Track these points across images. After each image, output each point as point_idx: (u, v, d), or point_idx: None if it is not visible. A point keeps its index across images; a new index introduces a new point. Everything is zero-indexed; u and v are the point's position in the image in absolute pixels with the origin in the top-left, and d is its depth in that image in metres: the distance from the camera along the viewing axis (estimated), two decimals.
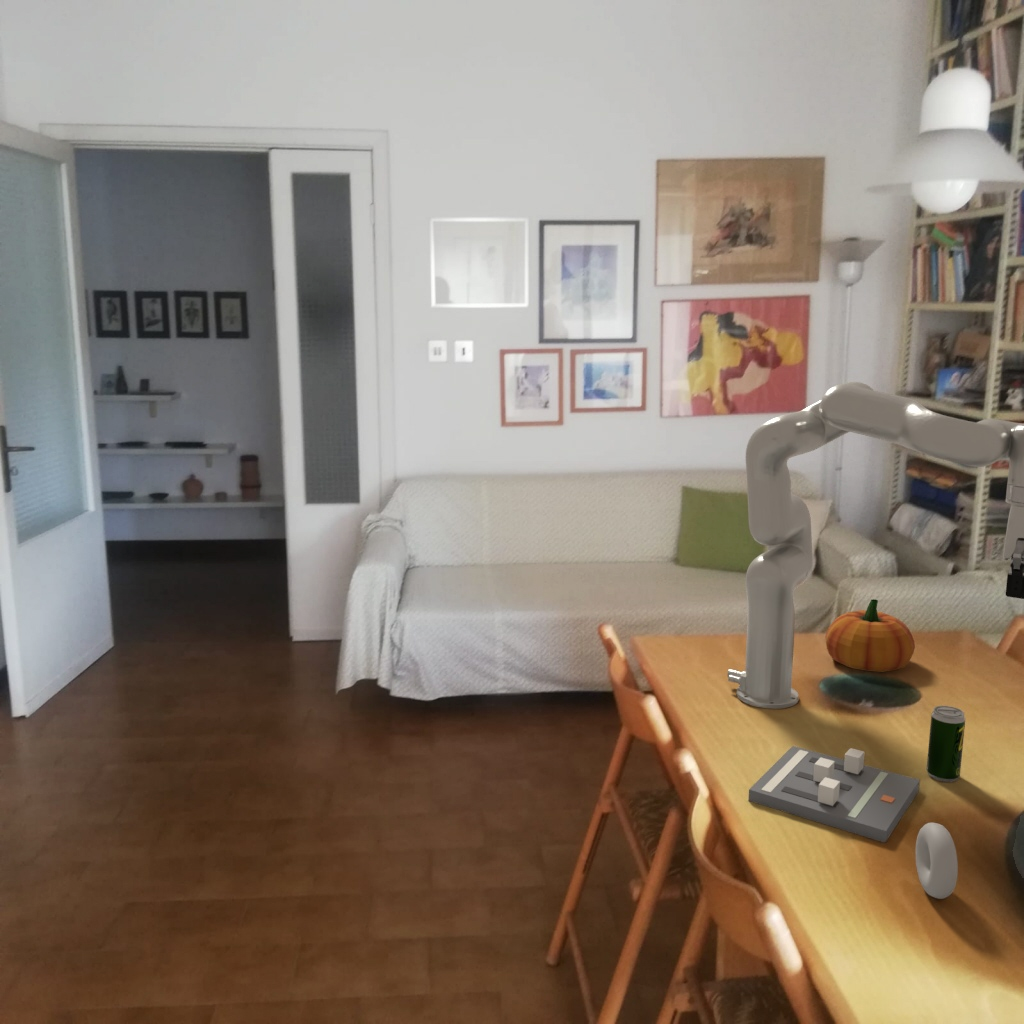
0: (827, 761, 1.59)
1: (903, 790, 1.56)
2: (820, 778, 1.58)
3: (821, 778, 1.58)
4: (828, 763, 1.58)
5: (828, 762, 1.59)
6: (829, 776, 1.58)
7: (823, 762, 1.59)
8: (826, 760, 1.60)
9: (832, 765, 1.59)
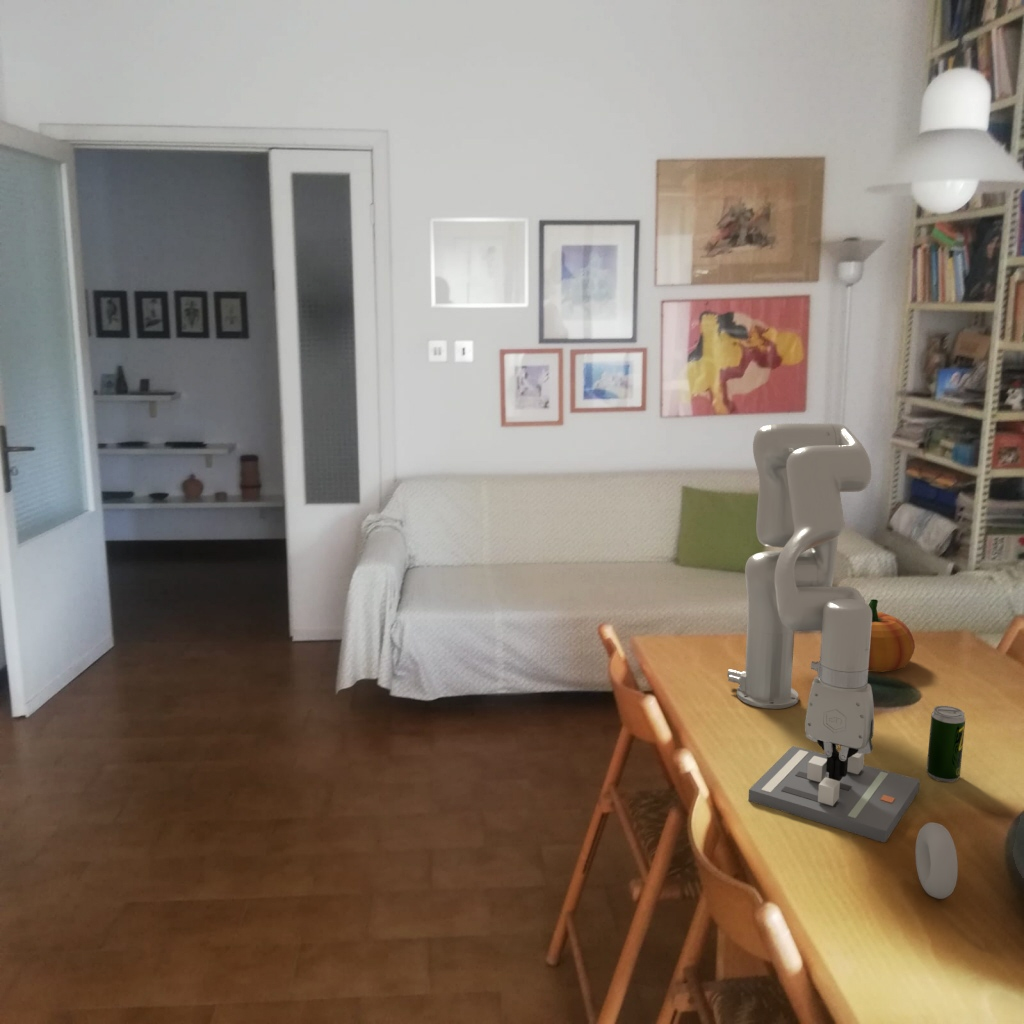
0: (821, 760, 1.60)
1: (903, 790, 1.56)
2: (814, 776, 1.59)
3: (815, 776, 1.59)
4: (822, 761, 1.59)
5: (821, 760, 1.59)
6: (823, 774, 1.58)
7: (817, 760, 1.60)
8: (820, 758, 1.60)
9: (826, 763, 1.59)
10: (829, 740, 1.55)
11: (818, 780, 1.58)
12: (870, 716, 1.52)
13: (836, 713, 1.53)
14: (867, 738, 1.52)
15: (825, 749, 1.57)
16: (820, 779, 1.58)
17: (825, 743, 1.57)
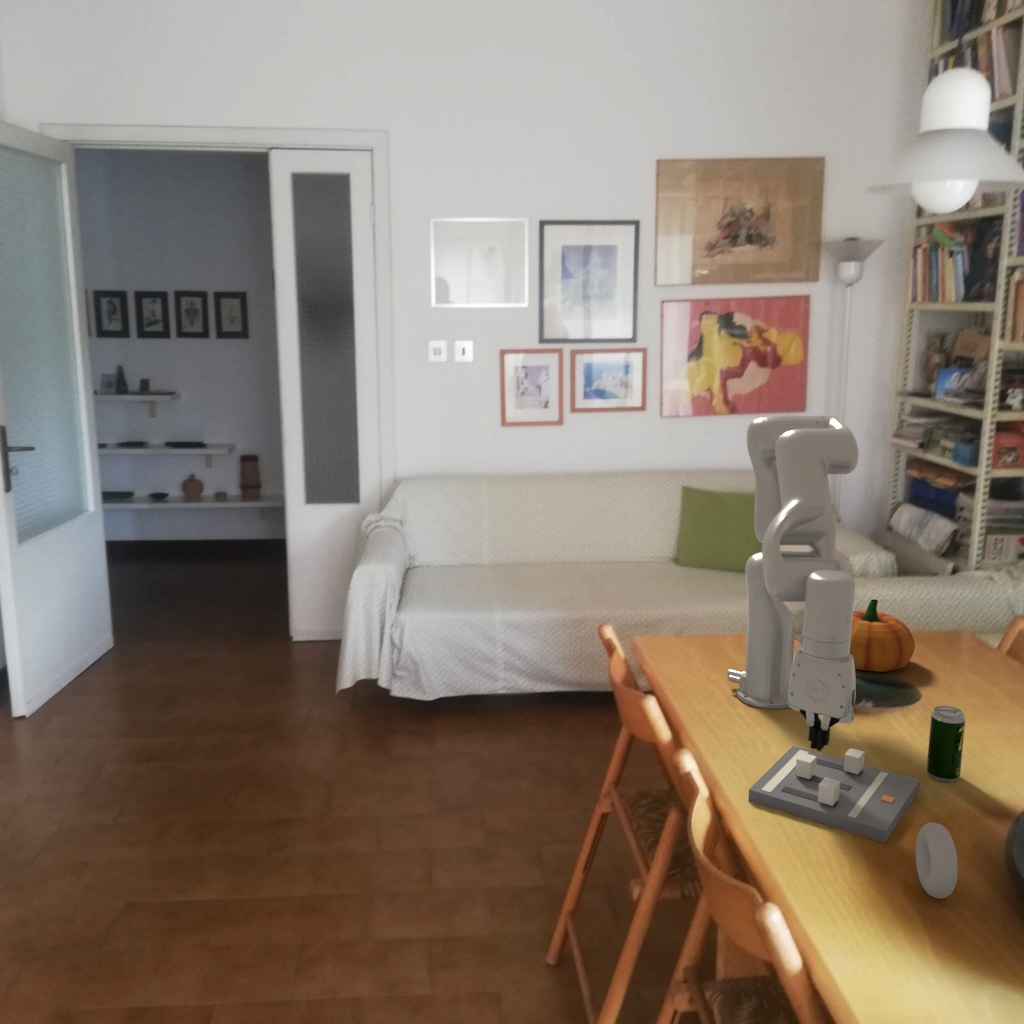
0: (809, 756, 1.61)
1: (903, 790, 1.56)
2: (802, 773, 1.60)
3: (803, 773, 1.60)
4: (810, 758, 1.60)
5: (810, 757, 1.61)
6: (811, 771, 1.60)
7: (805, 757, 1.61)
8: (808, 755, 1.61)
9: (814, 760, 1.60)
10: (811, 710, 1.56)
11: (806, 777, 1.60)
12: (852, 686, 1.53)
13: (818, 683, 1.55)
14: (848, 708, 1.53)
15: (807, 718, 1.58)
16: (808, 776, 1.59)
17: (807, 712, 1.58)
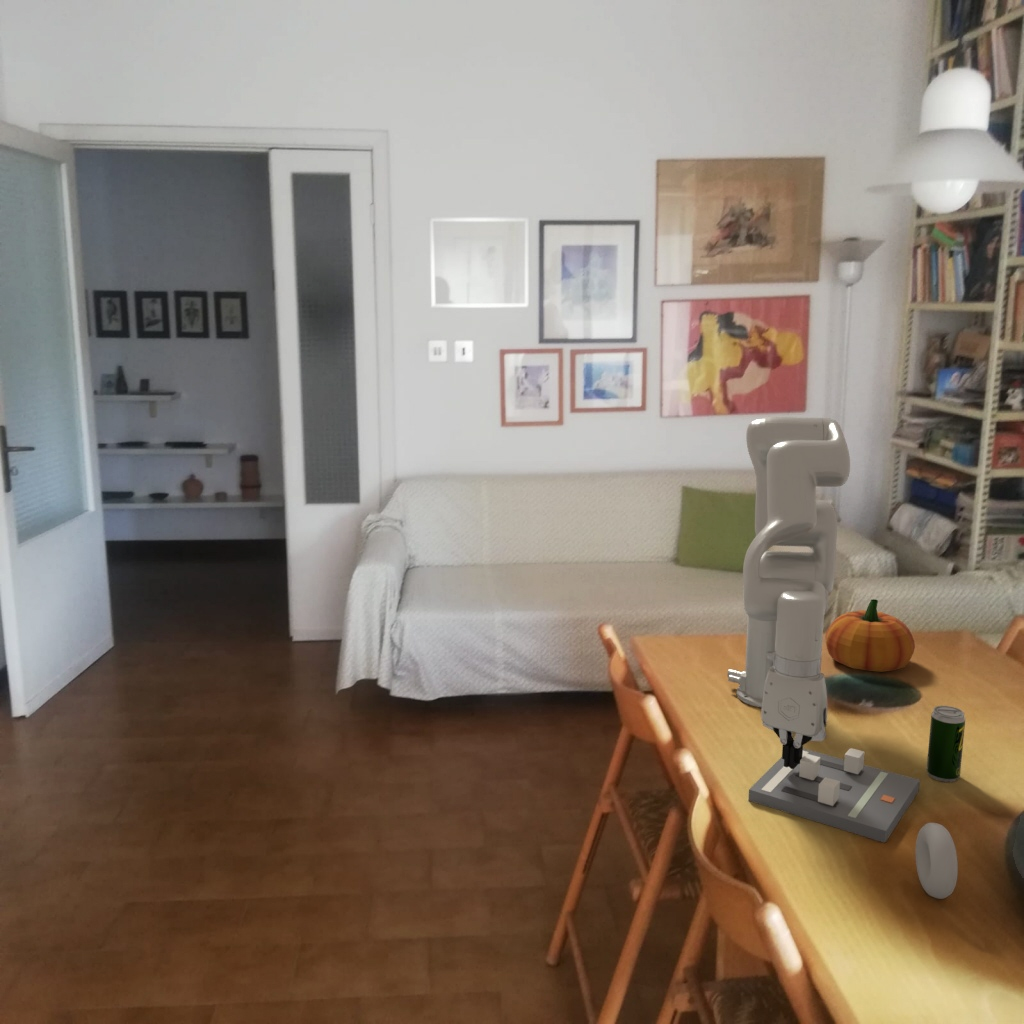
0: (813, 757, 1.60)
1: (903, 790, 1.56)
2: (806, 774, 1.60)
3: (807, 774, 1.59)
4: (814, 759, 1.60)
5: (813, 758, 1.60)
6: (815, 772, 1.59)
7: (809, 758, 1.60)
8: (812, 756, 1.61)
9: (818, 761, 1.60)
10: (783, 728, 1.59)
11: (810, 778, 1.59)
12: (822, 704, 1.56)
13: (790, 701, 1.58)
14: (819, 726, 1.56)
15: (780, 737, 1.61)
16: (812, 777, 1.59)
17: (780, 731, 1.61)
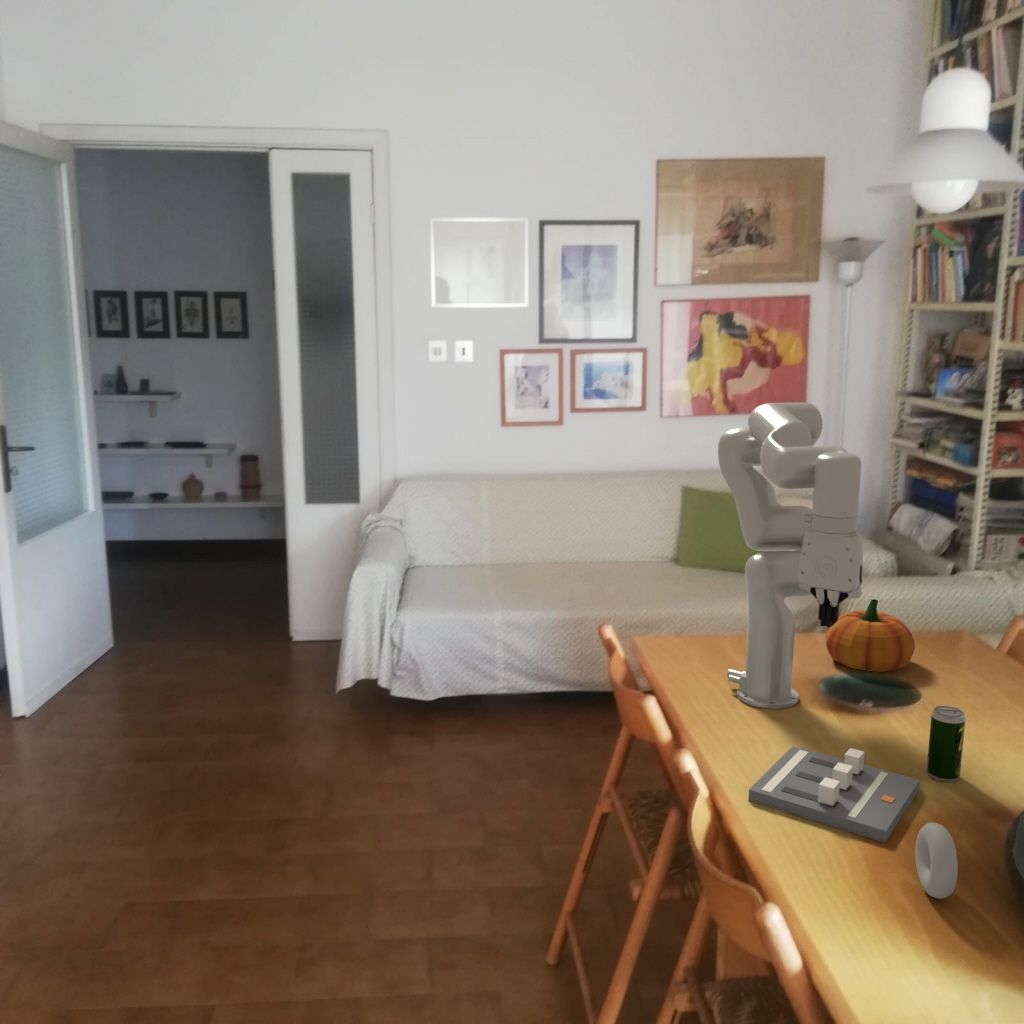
0: (845, 766, 1.57)
1: (903, 790, 1.56)
2: None
3: None
4: (846, 768, 1.57)
5: (846, 767, 1.57)
6: (847, 781, 1.56)
7: (841, 767, 1.57)
8: (844, 765, 1.58)
9: (850, 770, 1.57)
10: (821, 586, 1.65)
11: (843, 787, 1.56)
12: (859, 561, 1.62)
13: (827, 559, 1.63)
14: (856, 581, 1.62)
15: (817, 597, 1.67)
16: (845, 786, 1.56)
17: (817, 591, 1.67)
